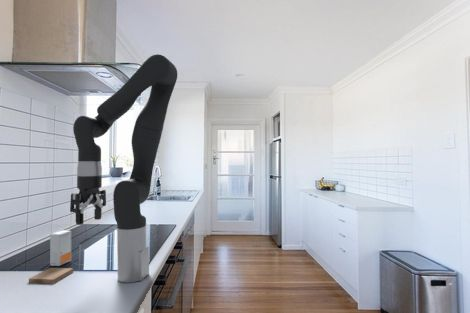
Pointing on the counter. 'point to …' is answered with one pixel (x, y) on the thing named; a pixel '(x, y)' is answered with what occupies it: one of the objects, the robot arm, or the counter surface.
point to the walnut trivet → (51, 275)
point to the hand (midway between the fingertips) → (89, 221)
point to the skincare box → (60, 248)
